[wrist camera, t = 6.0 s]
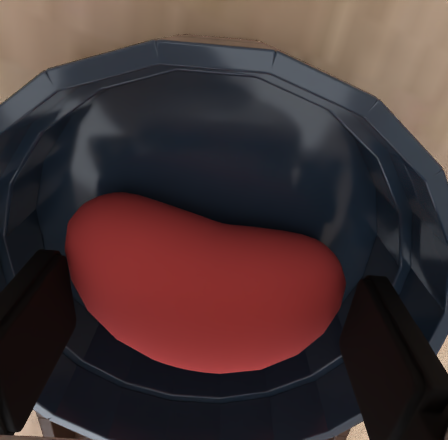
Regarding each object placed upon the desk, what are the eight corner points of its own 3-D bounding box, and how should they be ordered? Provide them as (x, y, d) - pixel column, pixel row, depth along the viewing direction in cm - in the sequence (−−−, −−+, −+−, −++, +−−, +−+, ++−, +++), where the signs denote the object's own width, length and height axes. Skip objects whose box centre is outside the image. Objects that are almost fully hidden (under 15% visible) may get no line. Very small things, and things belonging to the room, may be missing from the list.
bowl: (-24, 14, 10) (-180, 9, 6) (457, 57, 11) (589, 77, 7) (52, 353, 17) (1, 449, 13) (342, 372, 18) (374, 470, 14)
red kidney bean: (243, 314, 17) (336, 405, 12) (42, 301, 13) (47, 440, 7) (277, 214, 17) (391, 265, 11) (76, 163, 12) (108, 209, 7)
